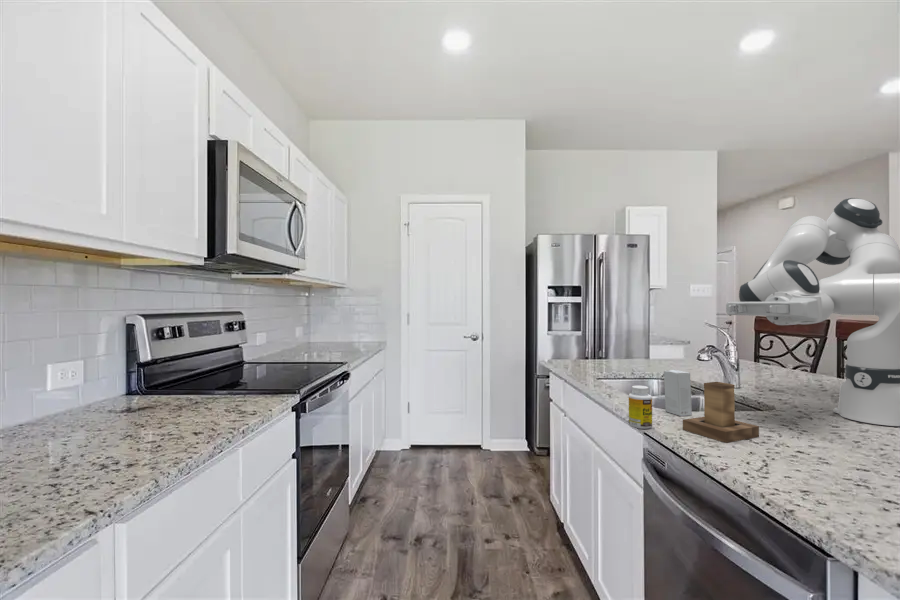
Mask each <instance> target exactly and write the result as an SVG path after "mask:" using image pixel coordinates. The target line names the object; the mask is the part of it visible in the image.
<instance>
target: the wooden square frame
mask: <svg viewBox="0 0 900 600" xmlns="http://www.w3.org/2000/svg"><path fill="white" fill-rule="evenodd" d="M682 431H686V432H688V433H692V434H695V435H698V436H702V437H706V438H709V439H712V440H715V441H718V442H721V443H732V442H734V443H735V442H737V441H738V442H739V441H745V440H750V439H754V438H759V437H760V426H759V425H756V424H751V423H747V422H743V421H739V420H736V419H735V426H729V427H719V426H716V425H712V424H708V423H705V422H704V416H699V417H694V418H693V417H692V418H691V417H690V418H686V419H684V418H683V419H682Z"/></svg>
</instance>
